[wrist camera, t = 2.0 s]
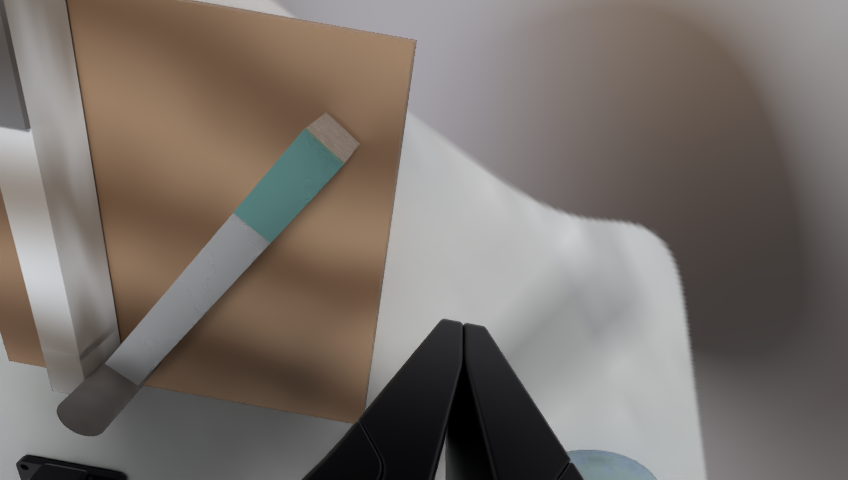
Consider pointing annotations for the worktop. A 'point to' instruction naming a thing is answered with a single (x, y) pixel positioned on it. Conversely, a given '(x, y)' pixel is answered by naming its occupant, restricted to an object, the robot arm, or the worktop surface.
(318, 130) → the hinged jaw
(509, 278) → the worktop surface
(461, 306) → the worktop surface
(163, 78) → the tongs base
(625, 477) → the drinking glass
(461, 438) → the robot arm
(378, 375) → the worktop surface
